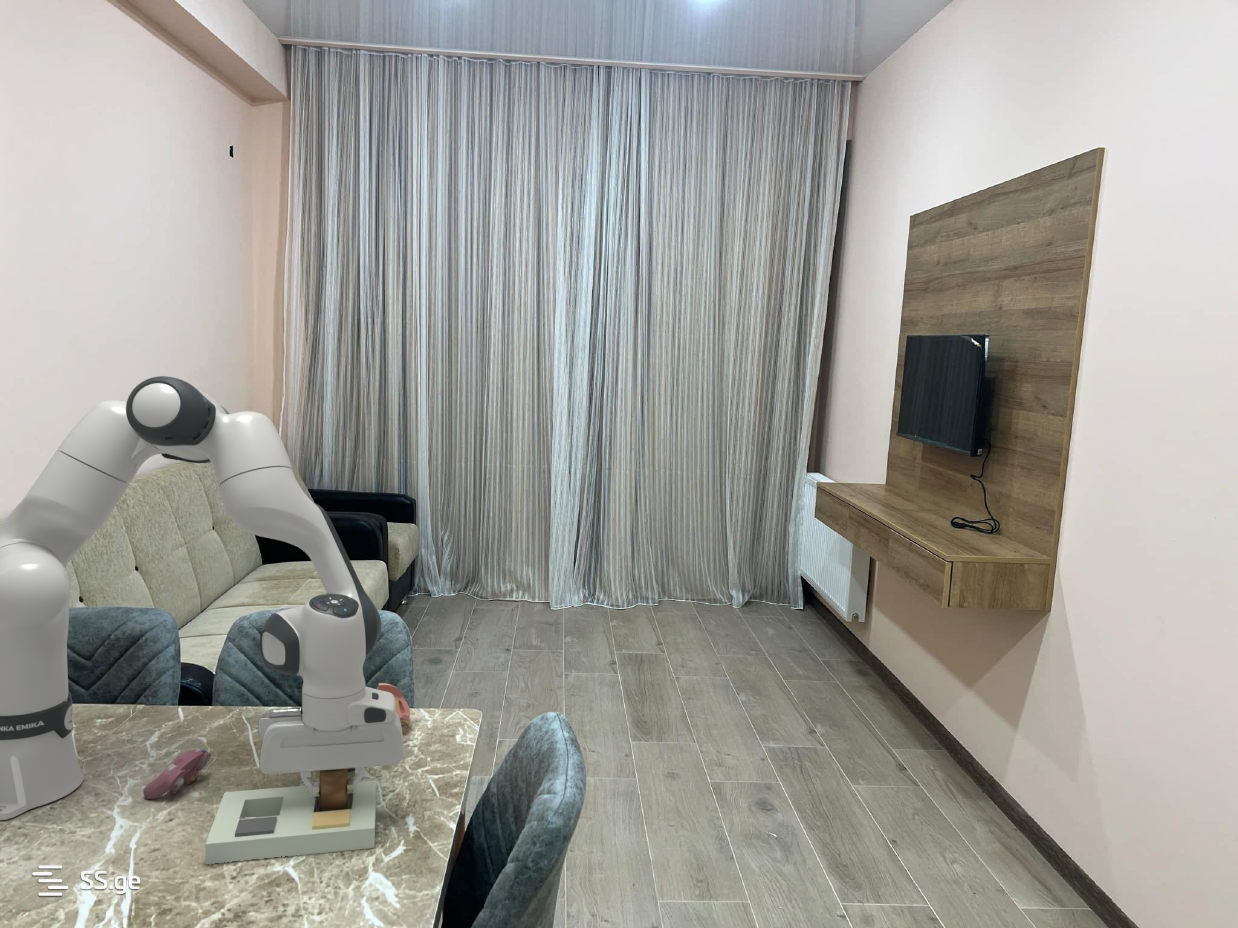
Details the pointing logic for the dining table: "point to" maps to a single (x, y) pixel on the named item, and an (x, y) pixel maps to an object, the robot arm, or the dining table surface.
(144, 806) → the dining table surface
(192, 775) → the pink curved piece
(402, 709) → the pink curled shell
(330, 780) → the plug
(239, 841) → the socket block
